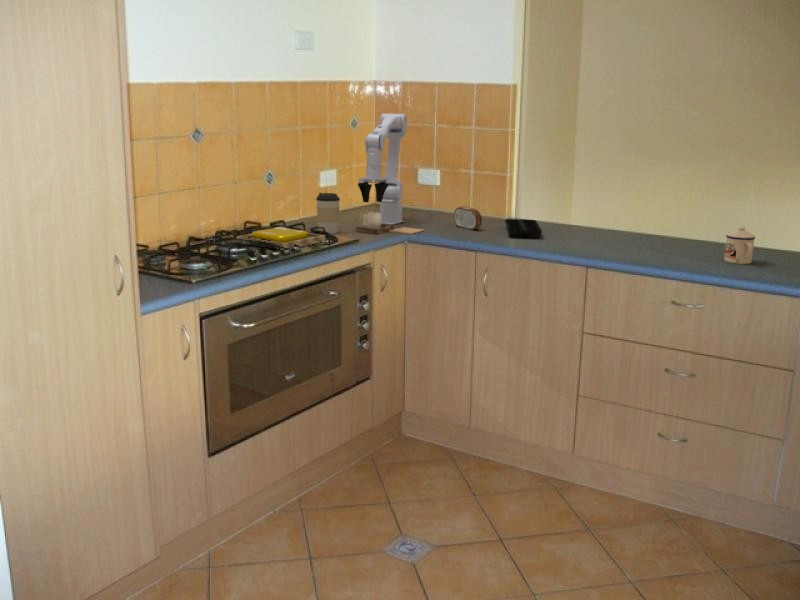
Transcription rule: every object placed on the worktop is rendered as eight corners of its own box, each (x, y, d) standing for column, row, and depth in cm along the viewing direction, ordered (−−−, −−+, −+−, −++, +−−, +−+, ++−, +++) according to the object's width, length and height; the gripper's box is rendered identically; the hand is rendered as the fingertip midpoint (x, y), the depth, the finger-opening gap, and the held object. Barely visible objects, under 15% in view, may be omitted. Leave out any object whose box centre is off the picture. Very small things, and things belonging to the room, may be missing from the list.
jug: (360, 230, 335) (360, 212, 333) (367, 228, 339) (367, 211, 337) (376, 232, 331) (376, 214, 329) (383, 230, 335) (383, 212, 333)
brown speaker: (482, 231, 340) (482, 209, 338) (475, 231, 339) (476, 210, 337) (458, 225, 352) (459, 204, 350) (452, 226, 351) (453, 205, 349)
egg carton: (510, 240, 322) (511, 230, 322) (491, 227, 351) (491, 218, 350) (555, 240, 325) (556, 230, 324) (532, 227, 354) (533, 218, 353)
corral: (278, 235, 320) (278, 228, 319) (325, 242, 308) (325, 235, 308) (236, 243, 302) (236, 236, 301) (285, 251, 290) (284, 243, 290)
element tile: (249, 244, 304) (249, 230, 303) (279, 238, 316) (279, 225, 315) (280, 249, 295) (280, 235, 294) (310, 243, 307) (310, 230, 306)
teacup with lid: (718, 259, 294) (722, 225, 291) (742, 258, 295) (746, 225, 292) (736, 266, 282) (741, 231, 279) (762, 266, 284) (766, 230, 281)
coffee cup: (341, 231, 332) (341, 192, 329) (337, 234, 324) (337, 194, 320) (318, 230, 333) (318, 191, 330) (313, 234, 325) (313, 194, 321)
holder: (373, 227, 341) (373, 223, 341) (392, 230, 336) (392, 225, 336) (356, 231, 332) (356, 226, 332) (376, 234, 327) (376, 229, 327)
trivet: (403, 228, 341) (403, 227, 341) (424, 231, 336) (424, 229, 336) (389, 231, 333) (389, 230, 333) (411, 234, 328) (411, 233, 328)
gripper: (368, 166, 320) (367, 203, 323) (394, 166, 331) (392, 202, 333) (354, 165, 325) (353, 201, 327) (380, 166, 336) (379, 201, 338)
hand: (372, 202), depth 331 cm, fingers open, 7 cm apart
